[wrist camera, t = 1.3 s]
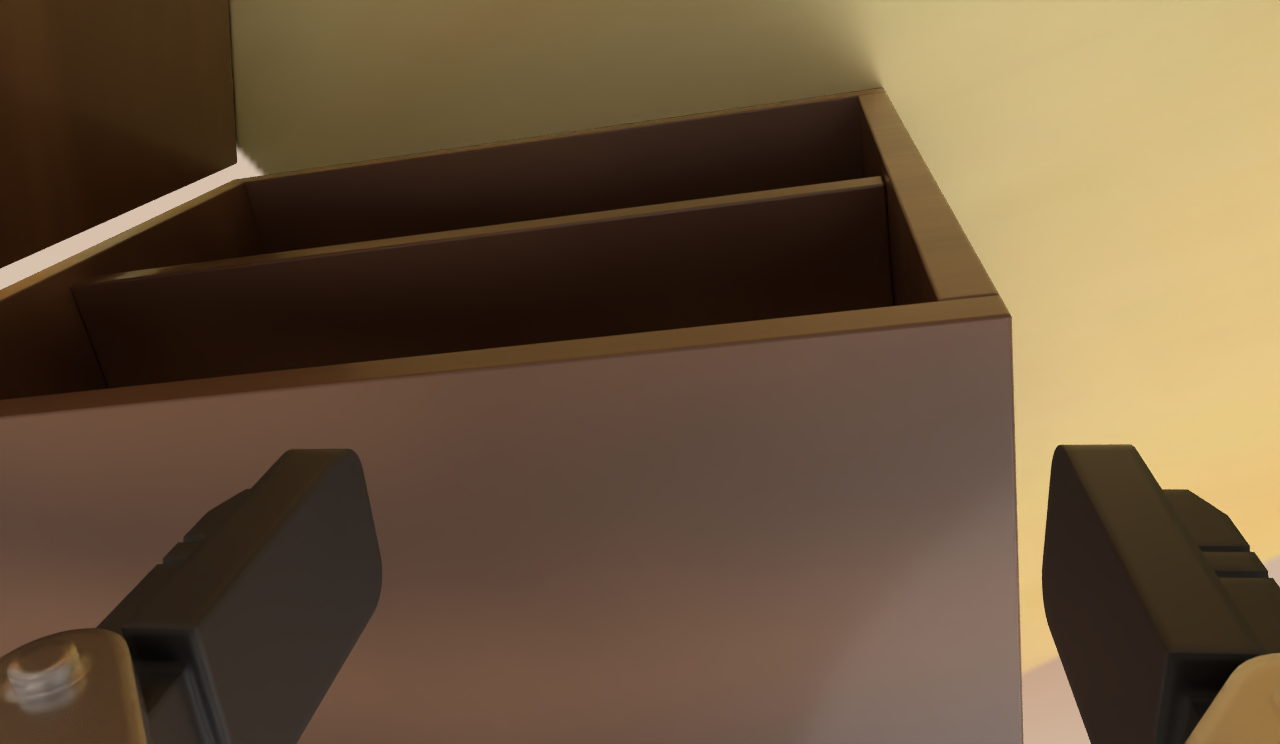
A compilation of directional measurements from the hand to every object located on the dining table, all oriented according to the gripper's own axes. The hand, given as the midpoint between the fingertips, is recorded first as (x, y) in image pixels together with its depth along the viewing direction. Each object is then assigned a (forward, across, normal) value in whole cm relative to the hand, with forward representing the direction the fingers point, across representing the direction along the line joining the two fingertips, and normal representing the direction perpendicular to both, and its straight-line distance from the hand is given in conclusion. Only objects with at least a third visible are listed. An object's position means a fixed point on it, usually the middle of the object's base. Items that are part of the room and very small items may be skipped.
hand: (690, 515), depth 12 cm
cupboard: (+29, +8, +10) cm, 32 cm away
